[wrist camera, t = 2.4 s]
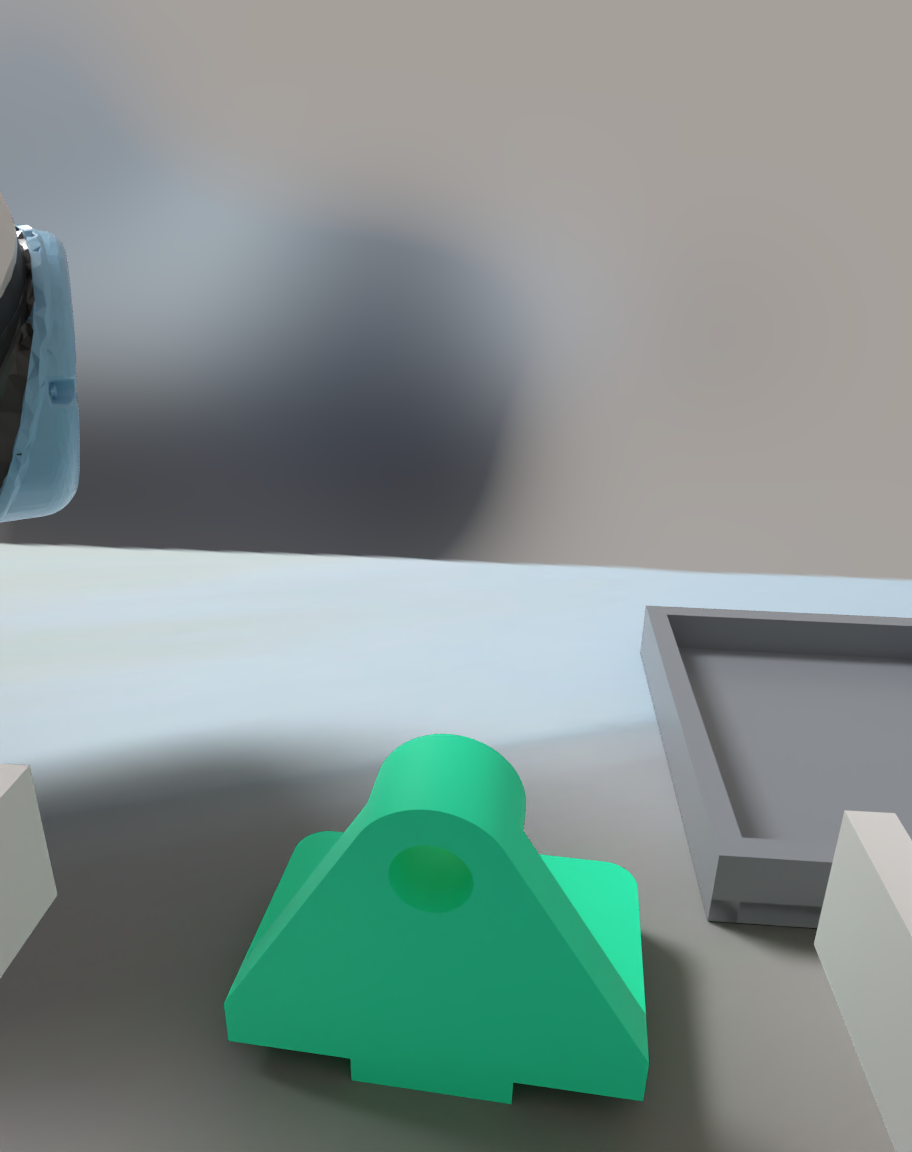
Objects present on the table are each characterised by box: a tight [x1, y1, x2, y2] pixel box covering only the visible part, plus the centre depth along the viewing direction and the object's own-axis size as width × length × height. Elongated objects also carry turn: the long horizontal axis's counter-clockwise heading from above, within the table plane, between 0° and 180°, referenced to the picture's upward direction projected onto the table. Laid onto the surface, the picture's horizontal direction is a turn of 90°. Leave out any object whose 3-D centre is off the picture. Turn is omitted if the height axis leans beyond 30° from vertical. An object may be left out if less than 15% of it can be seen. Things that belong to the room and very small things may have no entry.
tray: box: [641, 606, 912, 928], centre depth 39 cm, size 16×20×3 cm
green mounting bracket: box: [224, 734, 649, 1104], centre depth 26 cm, size 12×8×10 cm, turn 82°
